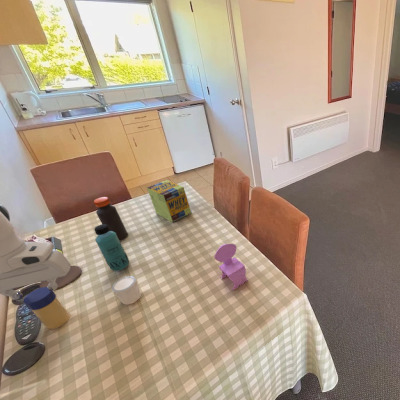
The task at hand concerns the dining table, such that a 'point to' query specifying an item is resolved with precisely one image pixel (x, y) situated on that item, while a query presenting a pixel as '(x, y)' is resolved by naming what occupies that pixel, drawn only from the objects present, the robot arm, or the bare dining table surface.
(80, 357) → the dining table surface
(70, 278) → the coaster
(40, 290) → the lid
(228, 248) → the toy chair
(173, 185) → the protein box
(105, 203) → the vinegar
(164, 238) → the dining table surface
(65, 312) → the honey jar
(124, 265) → the beverage bottle
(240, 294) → the dining table surface
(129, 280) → the shot glass
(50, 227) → the dining table surface
